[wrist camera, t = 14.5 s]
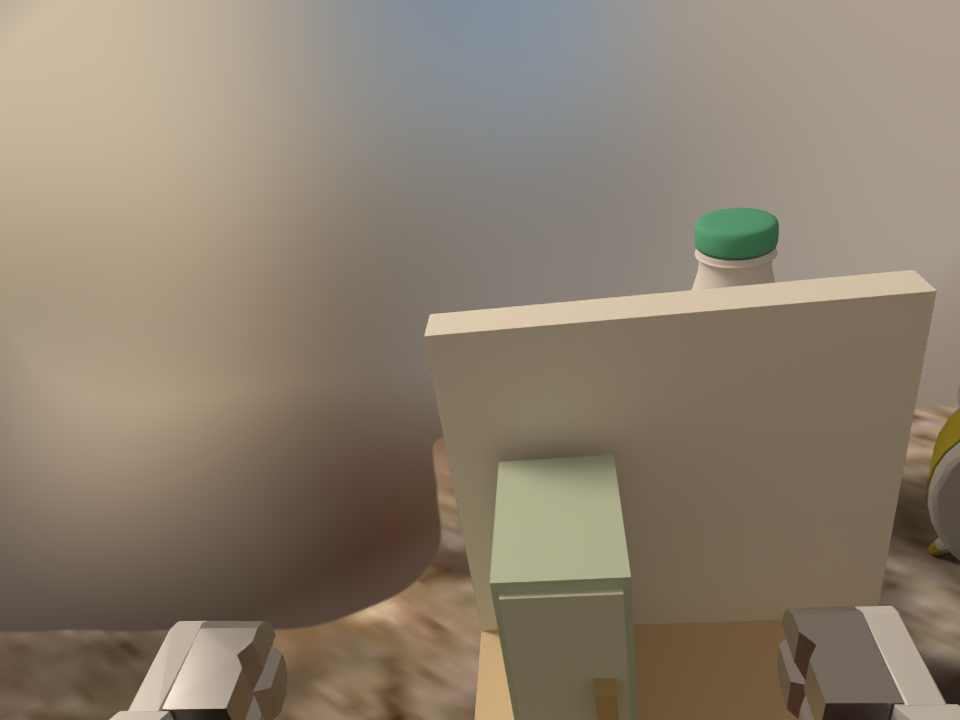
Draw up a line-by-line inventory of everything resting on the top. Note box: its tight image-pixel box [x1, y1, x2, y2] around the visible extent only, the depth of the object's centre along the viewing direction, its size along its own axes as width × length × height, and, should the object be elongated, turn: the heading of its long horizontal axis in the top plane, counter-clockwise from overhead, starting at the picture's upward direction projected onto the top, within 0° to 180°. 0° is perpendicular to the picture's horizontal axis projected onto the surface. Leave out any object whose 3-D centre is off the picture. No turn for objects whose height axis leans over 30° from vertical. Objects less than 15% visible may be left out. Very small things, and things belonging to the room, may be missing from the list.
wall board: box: [424, 270, 936, 720], centre depth 31 cm, size 20×14×22 cm
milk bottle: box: [692, 208, 779, 290], centre depth 48 cm, size 8×8×20 cm
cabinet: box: [490, 455, 638, 720], centre depth 32 cm, size 5×8×12 cm, turn 176°
